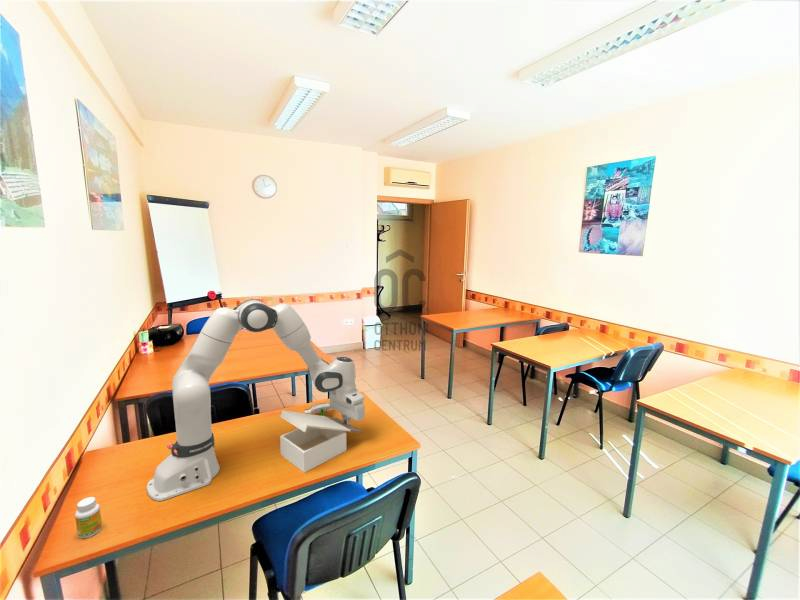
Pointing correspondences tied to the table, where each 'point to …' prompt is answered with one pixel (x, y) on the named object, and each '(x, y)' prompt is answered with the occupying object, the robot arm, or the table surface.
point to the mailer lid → (316, 422)
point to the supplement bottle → (88, 518)
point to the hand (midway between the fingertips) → (346, 423)
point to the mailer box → (312, 446)
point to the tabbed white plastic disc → (319, 408)
